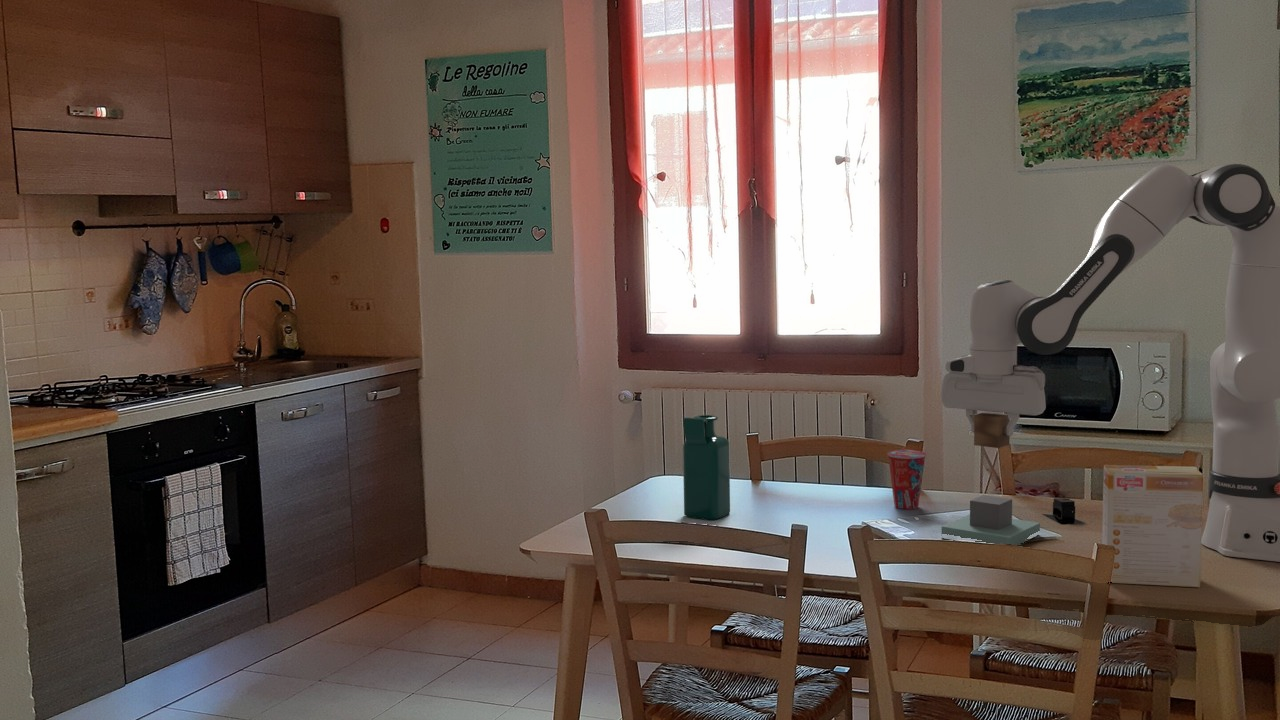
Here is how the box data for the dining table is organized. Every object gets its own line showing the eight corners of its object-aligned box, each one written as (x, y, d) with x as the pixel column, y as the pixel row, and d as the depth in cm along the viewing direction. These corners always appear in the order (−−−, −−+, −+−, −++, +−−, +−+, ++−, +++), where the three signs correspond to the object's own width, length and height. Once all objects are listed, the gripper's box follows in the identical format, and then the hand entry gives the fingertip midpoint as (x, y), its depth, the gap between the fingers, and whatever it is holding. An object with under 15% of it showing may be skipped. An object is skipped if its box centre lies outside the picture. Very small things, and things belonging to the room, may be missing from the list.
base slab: (1039, 535, 230) (1039, 522, 230) (1009, 550, 220) (1009, 537, 219) (973, 524, 239) (973, 512, 239) (941, 538, 229) (941, 526, 229)
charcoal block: (1011, 523, 229) (1012, 499, 229) (998, 530, 225) (999, 504, 224) (983, 519, 233) (983, 495, 233) (969, 525, 229) (970, 500, 228)
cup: (934, 508, 254) (934, 454, 252) (901, 512, 250) (901, 458, 249) (909, 500, 262) (909, 447, 261) (877, 504, 259) (877, 451, 258)
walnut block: (1009, 444, 228) (1009, 414, 227) (998, 448, 224) (998, 417, 223) (985, 441, 231) (985, 411, 230) (974, 445, 227) (974, 415, 227)
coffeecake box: (1192, 576, 201) (1195, 465, 199) (1201, 588, 194) (1204, 474, 192) (1100, 571, 205) (1102, 463, 203) (1105, 583, 198) (1108, 471, 196)
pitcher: (699, 508, 258) (697, 411, 256) (733, 512, 254) (732, 413, 251) (677, 518, 250) (676, 417, 247) (712, 522, 245) (711, 420, 243)
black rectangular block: (1094, 527, 237) (1094, 505, 237) (1060, 529, 236) (1060, 507, 236) (1066, 513, 249) (1066, 492, 249) (1033, 514, 249) (1033, 493, 248)
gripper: (1051, 365, 221) (1050, 437, 223) (952, 359, 235) (952, 427, 236) (1038, 368, 217) (1037, 441, 218) (937, 362, 230) (937, 431, 232)
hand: (992, 434), depth 227 cm, fingers closed on walnut block, 5 cm apart
